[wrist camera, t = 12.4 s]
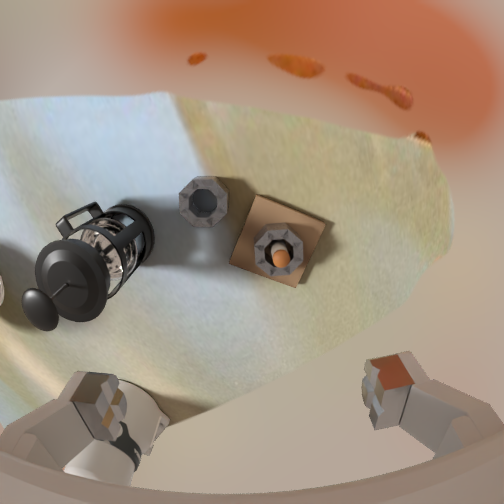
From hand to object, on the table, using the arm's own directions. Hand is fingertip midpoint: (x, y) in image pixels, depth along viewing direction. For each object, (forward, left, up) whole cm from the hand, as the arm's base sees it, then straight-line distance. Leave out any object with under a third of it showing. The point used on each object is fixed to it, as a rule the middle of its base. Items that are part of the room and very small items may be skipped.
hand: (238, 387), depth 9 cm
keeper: (-4, -6, -35) cm, 36 cm away
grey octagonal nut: (-4, -6, -34) cm, 34 cm away
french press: (-11, +15, -35) cm, 40 cm away
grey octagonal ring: (-2, +5, -35) cm, 36 cm away
